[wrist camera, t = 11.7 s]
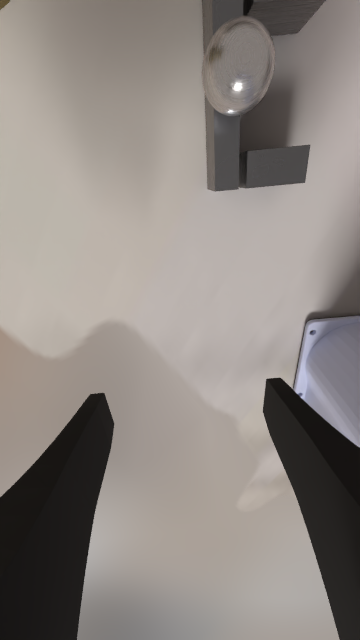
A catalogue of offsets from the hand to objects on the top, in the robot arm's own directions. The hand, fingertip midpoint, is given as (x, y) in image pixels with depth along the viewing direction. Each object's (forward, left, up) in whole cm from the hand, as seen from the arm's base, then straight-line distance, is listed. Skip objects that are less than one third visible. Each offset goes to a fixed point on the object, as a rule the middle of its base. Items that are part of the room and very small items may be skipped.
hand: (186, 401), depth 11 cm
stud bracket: (+12, -4, -9) cm, 16 cm away
